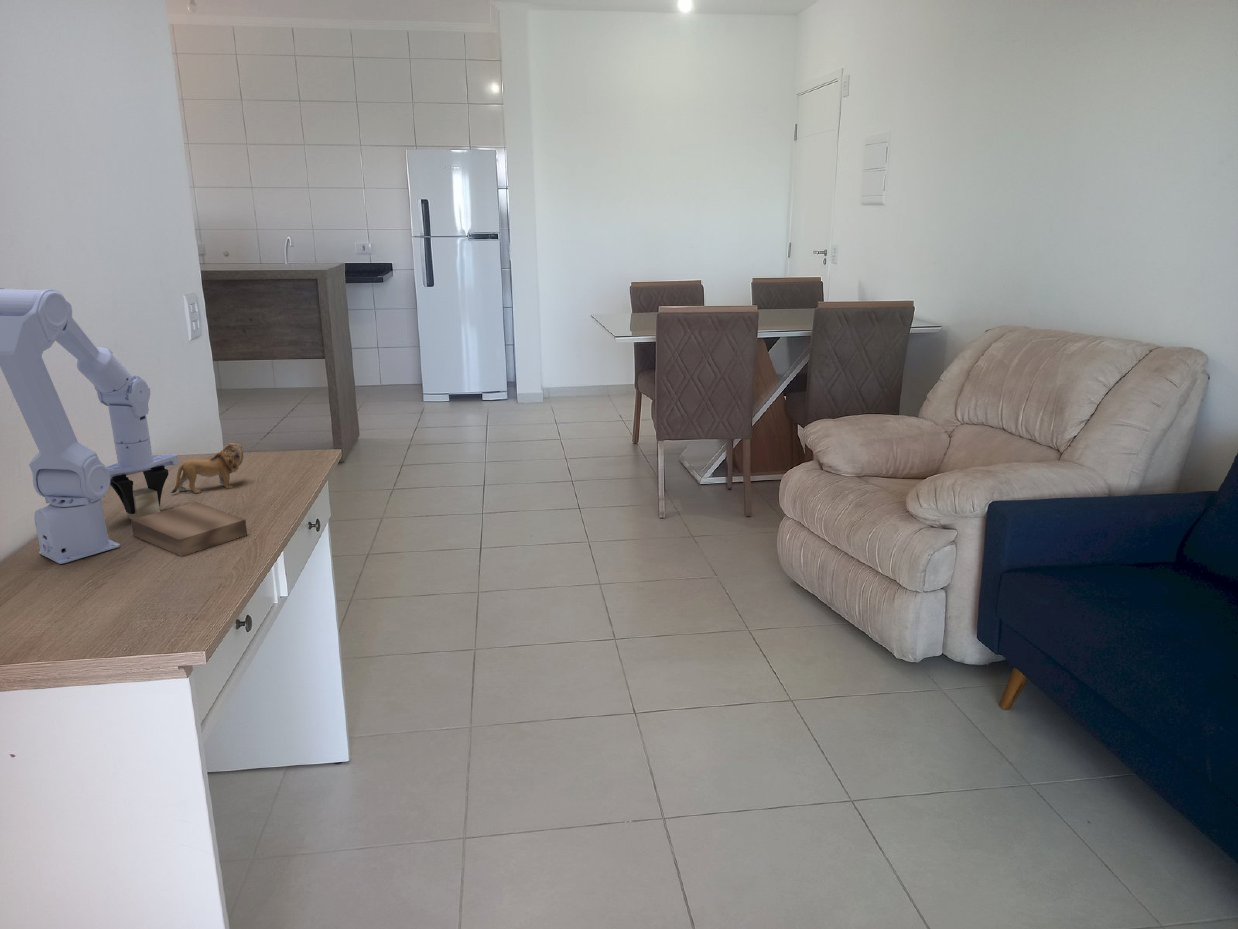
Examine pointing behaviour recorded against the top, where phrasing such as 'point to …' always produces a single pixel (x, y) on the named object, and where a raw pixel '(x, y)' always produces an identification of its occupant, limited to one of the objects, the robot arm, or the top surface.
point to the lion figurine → (211, 467)
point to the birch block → (144, 502)
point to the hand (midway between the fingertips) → (143, 509)
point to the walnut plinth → (189, 528)
